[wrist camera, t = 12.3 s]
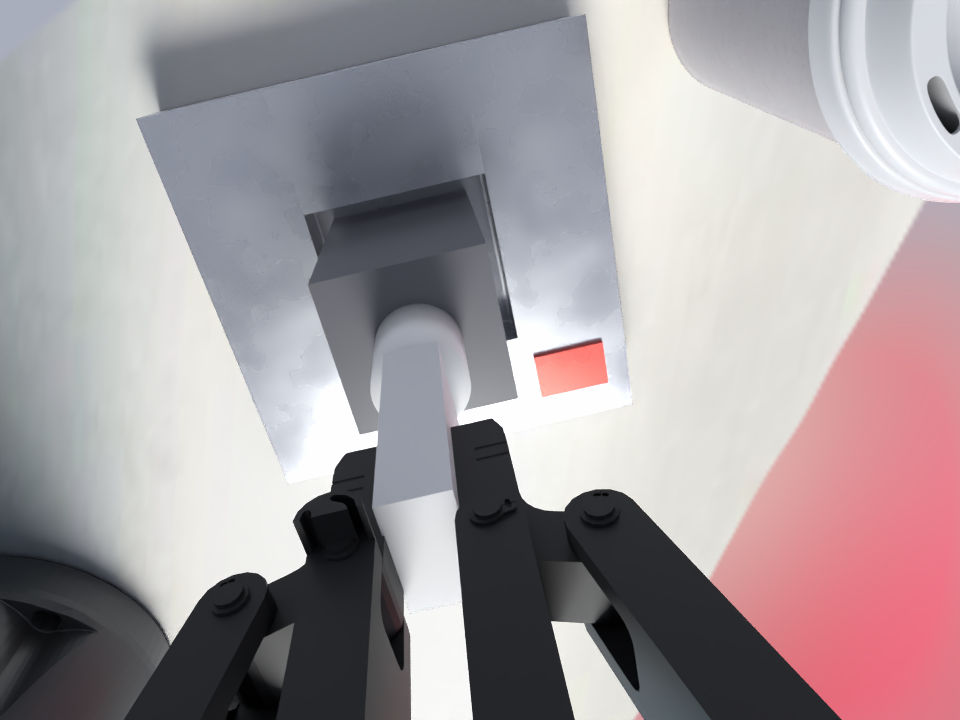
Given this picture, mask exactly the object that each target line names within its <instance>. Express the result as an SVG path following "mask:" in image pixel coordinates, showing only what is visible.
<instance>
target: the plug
mask: <svg viewBox="0 0 960 720" xmlns="http://www.w3.org/2000/svg"><path fill="white" fill-rule="evenodd" d="M308 287H309V290H310V293H311V296H312V298H313V301H314V304H315V307H316V310H317V313H318V316H319V319H320V322H321V325H322V328H323V330H324V333H325V336H326V339H327V342H328V345H329V348H330V351H331V354H332V357H333V360H334V362H335V365H336V368H337V371H338V374H339V377H340V380H341V383H342V386H343V389H344V392H345V394H346V397H347V400H348V403H349V406H350V409H351V412H352V415H353V418H354V421H355V423H356V426H357V429H358V432H359V435H363V434H367V433H372V432H376V431H378V421H379V408H380V394H381V381H382V367H383V354H385V353H390V352H394V351H398V350H403V349H407V348H411V347H416V346H420V345H424V344H429V343H433V342H437V341H438V344H439V348H440V352H441V356H442V360H443V364H444V367H445V371H446V375H447V379H448V383H449V387H450V390H451V394H452V398H453V402H454V406H455V409H456V413H457V417H459V416H460V415H461V413H462V412H463V411H467V410H471V409H475V408H479V407H484V406H488V405H492V404H497V403H501V402H505V401H510V400H514V399H518V393H517V388H516V384H515V379H514V374H513V369H512V365H511V360H510V355H509V350H508V346H507V341H506V336H505V331H504V326H503V322H502V317H501V312H500V307H499V303H498V298H497V293H496V288H495V284H494V279H493V274H492V269H491V264H490V260H489V255H488V250H487V245H486V242H485V239H484V237H483V234H482V231H481V229H480V226H479V224H478V221H477V218H476V216H475V213H474V211H473V208H472V205H471V203H470V200H469V198H468V195H467V192H466V190H465V189H462V190H458V191H453V192H449V193H445V194H440V195H436V196H432V197H428V198H423V199H419V200H415V201H410V202H406V203H402V204H397V205H393V206H389V207H384V208H380V209H376V210H372V211H367V212H363V213H359V214H354V215H350V216H346V217H341V218H337V219H333V222H332V224H331V227H330V230H329V232H328V235H327V237H326V240H325V242H324V245H323V247H322V250H321V252H320V255H319V257H318V260H317V263H316V265H315V268H314V270H313V273H312V275H311V278H310V280H309V283H308Z"/></svg>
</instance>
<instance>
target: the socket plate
mask: <svg viewBox="0 0 960 720" xmlns="http://www.w3.org/2000/svg"><path fill="white" fill-rule="evenodd" d="M136 120H137V123H138V125H139V128H140V130H141V132H142V135H143V137H144V140H145V142H146V144H147V147H148V149H149V151H150V154H151V156H152V159H153V161H154V163H155V166H156V168H157V171H158V173H159V175H160V178H161V180H162V183H163V185H164V187H165V190H166V192H167V195H168V197H169V199H170V202H171V204H172V207H173V209H174V211H175V214H176V216H177V219H178V221H179V223H180V226H181V228H182V231H183V233H184V235H185V238H186V240H187V242H188V245H189V247H190V250H191V252H192V254H193V257H194V259H195V262H196V264H197V266H198V269H199V271H200V274H201V276H202V278H203V281H204V283H205V286H206V288H207V290H208V293H209V295H210V298H211V300H212V302H213V305H214V307H215V310H216V312H217V314H218V317H219V319H220V322H221V324H222V326H223V329H224V331H225V333H226V336H227V338H228V341H229V343H230V345H231V348H232V350H233V353H234V355H235V357H236V360H237V362H238V365H239V367H240V369H241V372H242V374H243V377H244V379H245V381H246V384H247V386H248V389H249V391H250V393H251V396H252V398H253V401H254V403H255V405H256V408H257V410H258V413H259V415H260V417H261V420H262V422H263V424H264V427H265V429H266V432H267V434H268V436H269V439H270V441H271V444H272V446H273V448H274V451H275V453H276V456H277V458H278V460H279V463H280V465H281V468H282V470H283V472H284V475H285V477H286V480H287V482H288V484H289V483H293V482H297V481H302V480H306V479H310V478H315V477H319V476H323V475H328V474H332V473H334V469H335V467H336V465H337V464H338V463H339V461H340V460H341V459H342V457H343V456H344V454H345V453H348V452H353V451H357V450H361V449H366V448H370V447H374V446H377V435H378V431H376V432H372V433H367V434H363V435H359V432H358V429H357V426H356V423H355V421H354V418H353V415H352V412H351V409H350V406H349V403H348V400H347V397H346V394H345V392H344V389H343V386H342V383H341V380H340V377H339V374H338V371H337V368H336V365H335V362H334V360H333V357H332V354H331V351H330V348H329V345H328V342H327V339H326V336H325V333H324V330H323V328H322V325H321V322H320V319H319V316H318V313H317V310H316V307H315V304H314V301H313V298H312V296H311V293H310V290H309V287H308V283H309V280H310V278H311V275H312V273H313V270H314V268H315V265H316V263H317V260H318V257H319V255H320V252H321V250H322V247H323V245H324V242H325V240H326V237H327V235H328V232H329V230H330V227H331V224H332V222H333V219H337V218H341V217H346V216H350V215H354V214H359V213H363V212H367V211H372V210H376V209H380V208H384V207H389V206H393V205H397V204H402V203H406V202H410V201H415V200H419V199H423V198H428V197H432V196H436V195H440V194H445V193H449V192H453V191H458V190H462V189H465V190H466V192H467V195H468V198H469V200H470V203H471V205H472V208H473V211H474V213H475V216H476V218H477V221H478V224H479V226H480V229H481V231H482V234H483V237H484V239H485V242H486V245H487V250H488V255H489V260H490V264H491V269H492V274H493V279H494V284H495V288H496V293H497V298H498V303H499V307H500V312H501V317H502V322H503V326H504V331H505V336H506V341H507V346H508V350H509V355H510V360H511V365H512V369H513V374H514V379H515V384H516V388H517V393H518V399H514V400H510V401H505V402H501V403H497V404H492V405H488V406H484V407H479V408H475V409H471V410H467V411H463V412H462V413H461V415H460V416H459V417H458V421H459V425H463V424H467V423H471V422H476V421H480V420H484V419H489V418H493V419H494V420H495V421H496V422H497V423H499V424H500V425H501V426H502V427H503V428H504V433H509V432H513V431H518V430H522V429H526V428H531V427H535V426H539V425H544V424H548V423H552V422H557V421H561V420H565V419H570V418H574V417H578V416H583V415H587V414H591V413H595V412H600V411H604V410H608V409H613V408H617V407H621V406H626V405H630V404H633V403H632V395H631V387H630V379H629V370H628V362H627V354H626V346H625V337H624V329H623V321H622V313H621V304H620V296H619V288H618V279H617V271H616V263H615V255H614V246H613V238H612V230H611V222H610V213H609V205H608V197H607V189H606V180H605V172H604V164H603V156H602V147H601V139H600V131H599V123H598V114H597V106H596V98H595V90H594V81H593V73H592V65H591V57H590V48H589V40H588V32H587V24H586V15H585V14H584V15H576V16H568V17H564V18H560V19H555V20H551V21H547V22H543V23H538V24H534V25H530V26H525V27H521V28H517V29H513V30H508V31H504V32H500V33H495V34H491V35H487V36H482V37H478V38H474V39H470V40H465V41H461V42H457V43H452V44H448V45H444V46H439V47H435V48H431V49H427V50H422V51H418V52H414V53H409V54H405V55H401V56H397V57H392V58H388V59H384V60H379V61H375V62H371V63H366V64H362V65H358V66H354V67H349V68H345V69H341V70H336V71H332V72H328V73H324V74H319V75H315V76H311V77H306V78H302V79H298V80H293V81H289V82H285V83H281V84H276V85H272V86H268V87H263V88H259V89H255V90H250V91H246V92H242V93H238V94H233V95H229V96H225V97H220V98H216V99H212V100H208V101H203V102H199V103H195V104H190V105H186V106H182V107H177V108H173V109H169V110H165V111H160V112H157V113H154V114H150V115H147V116H144V117H141V118H138V119H136Z"/></svg>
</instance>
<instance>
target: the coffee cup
mask: <svg viewBox="0 0 960 720" xmlns="http://www.w3.org/2000/svg"><path fill="white" fill-rule="evenodd" d="M668 20H669V30H670V36H671V40H672V44H673V47H674V49H675V52H676V54H677V56H678V58H679V60H680V62H681V63H682V65H683V66H684V68H685V69H686V70H687V71H688V72H689V74H690V75H691V76H692V77H694V78H695V79H696V80H697V81H699V82H700V83H701V84H703V85H705V86H706V87H708V88H711V89H713V90H715V91H717V92H720V93H722V94H724V95H727V96H729V97H732V98H734V99H736V100H739V101H741V102H743V103H746V104H748V105H750V106H753V107H755V108H757V109H760V110H762V111H765V112H767V113H769V114H772V115H774V116H776V117H779V118H781V119H783V120H786V121H788V122H790V123H793V124H795V125H797V126H800V127H802V128H804V129H807V130H809V131H811V132H814V133H816V134H818V135H820V136H823V137H825V138H827V139H830V140H832V141H834V142H837V143H838V144H839V145H840V147H841V148H842V149H843V151H844V152H845V153H846V154H847V156H848V157H849V158H850V159H851V160H852V161H853V162H854V163H855V164H856V165H857V166H858V167H859V168H860V169H861V170H862V171H863V172H865V173H866V174H867V175H868V176H870V177H871V178H873V179H874V180H875V181H877V182H879V183H880V184H882V185H884V186H886V187H887V188H890V189H892V190H894V191H896V192H899V193H901V194H904V195H907V196H910V197H914V198H918V199H922V200H927V201H935V202H951V203H957V202H960V0H669V10H668Z"/></svg>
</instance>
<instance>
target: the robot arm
mask: <svg viewBox="0 0 960 720" xmlns="http://www.w3.org/2000/svg"><path fill="white" fill-rule="evenodd" d="M332 483H333V485H332V487H331V492H329V493H326V494H323V495H320V496H318V497H316V498H314V499H313V500H311V501H309V502H308V503H306V504H305V505H304V506H303V507H302V508H301V509H300V510H299V511H298V512H297V514H296V516H295V518H294V520H293V523H294V526H295V528H296V530H297V533H298V535H299V537H300V540H301V542H302V544H303V547H304V549H305V552H306V554H307V558H306V563H305V565H303V566H302V567H301V568H300V569H298V570H296V571H294V572H292V573H291V574H289V575H287V576H285V577H282V578H280V579H278V580H276V581H274V582H272V583H270V584H267V582H266V580H265V578H263V577H262V576H260V575H259V574H257V573H249V572H246V573H241V574H236V575H233V576H230V577H228V578H226V579H224V580H222V581H220V582H218V583H217V584H216V585H214V586H213V587H212V588H210V589H209V590H208V591H207V592H206V593H205V594H204V596H203V597H202V598H201V599H200V600H199V601H198V603H197V605H196V606H195V608H194V609H193V611H192V612H191V614H190V616H189V617H188V619H187V620H186V622H185V624H184V625H183V627H182V628H181V630H180V631H179V633H178V635H177V636H176V638H175V639H174V641H173V642H172V644H171V646H170V647H169V645H168V643H167V640H166V638H165V637H164V635H163V633H162V631H161V630H160V628H159V627H158V625H157V624H156V623H155V621H154V620H153V619H152V618H151V617H150V616H149V614H148V613H147V612H146V611H145V610H144V609H143V608H142V607H140V606H139V605H138V604H137V603H136V602H135V601H133V600H132V599H131V598H130V597H128V596H127V595H125V594H124V593H123V592H121V591H119V590H118V589H116V588H115V587H113V586H111V585H109V584H108V583H106V582H104V581H102V580H100V579H98V578H96V577H94V576H91V575H89V574H86V573H84V572H81V571H79V570H76V569H73V568H70V567H67V566H63V565H60V564H56V563H52V562H47V561H42V560H37V559H30V558H23V557H11V556H0V720H411V679H410V634H409V630H408V626H407V623H406V621H405V618H404V599H405V602H406V605H407V608H408V611H409V614H412V613H417V612H421V611H425V610H430V609H434V608H438V607H443V606H447V605H451V604H456V603H460V602H462V606H463V617H464V627H465V638H466V649H467V659H468V670H469V681H470V691H471V702H472V713H473V720H575V719H574V715H573V711H572V706H571V702H570V698H569V694H568V690H567V686H566V682H565V677H564V673H563V669H562V665H561V661H560V657H559V653H558V649H557V644H556V640H555V636H554V632H553V628H552V624H551V621H558V622H575V623H584V624H585V627H586V629H587V631H588V633H589V634H590V636H591V638H592V639H593V641H594V642H595V644H596V645H597V647H598V648H599V650H600V652H601V653H602V655H603V656H604V658H605V659H606V661H607V662H608V664H609V666H610V667H611V669H612V670H613V672H614V673H615V675H616V676H617V678H618V680H619V681H620V683H621V684H622V686H623V687H624V689H625V690H626V692H627V694H628V695H629V697H630V698H631V700H632V701H633V703H634V704H635V706H636V708H637V709H638V711H639V712H640V714H641V715H642V717H643V718H644V720H841V719H840V718H839V716H838V715H837V714H836V713H835V712H834V711H833V710H832V709H831V708H830V707H829V706H828V705H827V704H826V703H825V702H824V701H823V700H822V699H821V698H820V696H819V695H818V694H817V693H816V692H815V691H814V690H813V689H812V688H811V687H810V686H809V685H808V684H807V683H806V682H805V681H804V680H803V678H801V676H800V675H799V674H798V673H797V672H796V671H795V670H794V669H793V668H792V667H791V666H790V665H789V664H788V663H787V662H786V661H785V660H784V658H783V657H782V656H781V655H780V654H779V653H778V652H777V651H776V650H775V649H774V648H773V647H772V646H771V645H770V644H769V643H768V642H767V641H766V639H764V637H763V636H762V635H761V634H760V633H759V632H758V631H757V630H756V629H755V628H754V627H753V626H752V625H751V624H750V623H749V622H748V621H747V619H746V618H745V617H743V615H742V614H741V613H740V612H739V611H738V610H737V609H736V608H735V607H734V606H733V605H732V604H731V603H730V602H729V601H728V599H727V598H725V596H724V595H723V594H722V593H721V592H720V591H719V590H718V589H717V588H716V587H715V586H714V585H713V584H712V583H711V582H710V580H709V579H708V578H707V577H706V576H705V575H704V574H703V573H702V572H701V571H700V570H699V569H698V568H697V567H696V566H695V565H694V564H693V563H692V562H691V560H690V559H689V558H688V557H687V556H686V555H685V554H684V553H683V552H682V551H681V550H680V549H679V548H678V547H677V546H676V545H675V544H674V543H673V542H672V540H671V539H670V538H669V537H668V536H667V535H666V534H665V533H664V532H663V531H662V530H661V529H660V528H659V527H658V526H657V525H656V524H655V523H654V521H653V520H652V519H651V518H650V517H649V516H648V515H647V514H646V513H645V512H644V511H643V510H642V509H641V508H640V507H639V506H638V505H637V504H636V503H635V501H634V500H633V499H631V498H630V497H628V496H627V495H625V494H624V493H622V492H618V491H614V490H611V489H596V490H592V491H589V492H585V493H582V494H580V495H579V496H577V497H575V498H574V499H572V500H571V502H570V503H569V504H568V505H567V506H566V508H565V511H545V510H541V509H537V508H534V507H532V506H531V505H529V504H527V503H526V502H525V501H524V500H523V499H522V497H521V495H520V493H519V490H518V485H517V481H516V477H515V473H514V469H513V465H512V461H511V457H510V453H509V449H508V445H507V441H506V437H505V433H504V428H503V427H502V426H501V425H500V424H499V423H497V422H496V421H495V420H494V419H493V418H489V419H484V420H480V421H476V422H471V423H467V424H463V425H459V421H458V417H457V413H456V409H455V406H454V402H453V398H452V394H451V390H450V387H449V383H448V379H447V375H446V371H445V367H444V364H443V360H442V356H441V352H440V348H439V344H438V341H437V342H433V343H429V344H424V345H420V346H416V347H411V348H407V349H403V350H398V351H394V352H390V353H385V354H383V367H382V381H381V394H380V408H379V421H378V435H377V446H374V447H370V448H366V449H361V450H357V451H353V452H348V453H345V454H344V456H343V457H342V459H341V460H340V461H339V463H338V464H337V465H336V467H335V469H334V475H333V481H332Z"/></svg>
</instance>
